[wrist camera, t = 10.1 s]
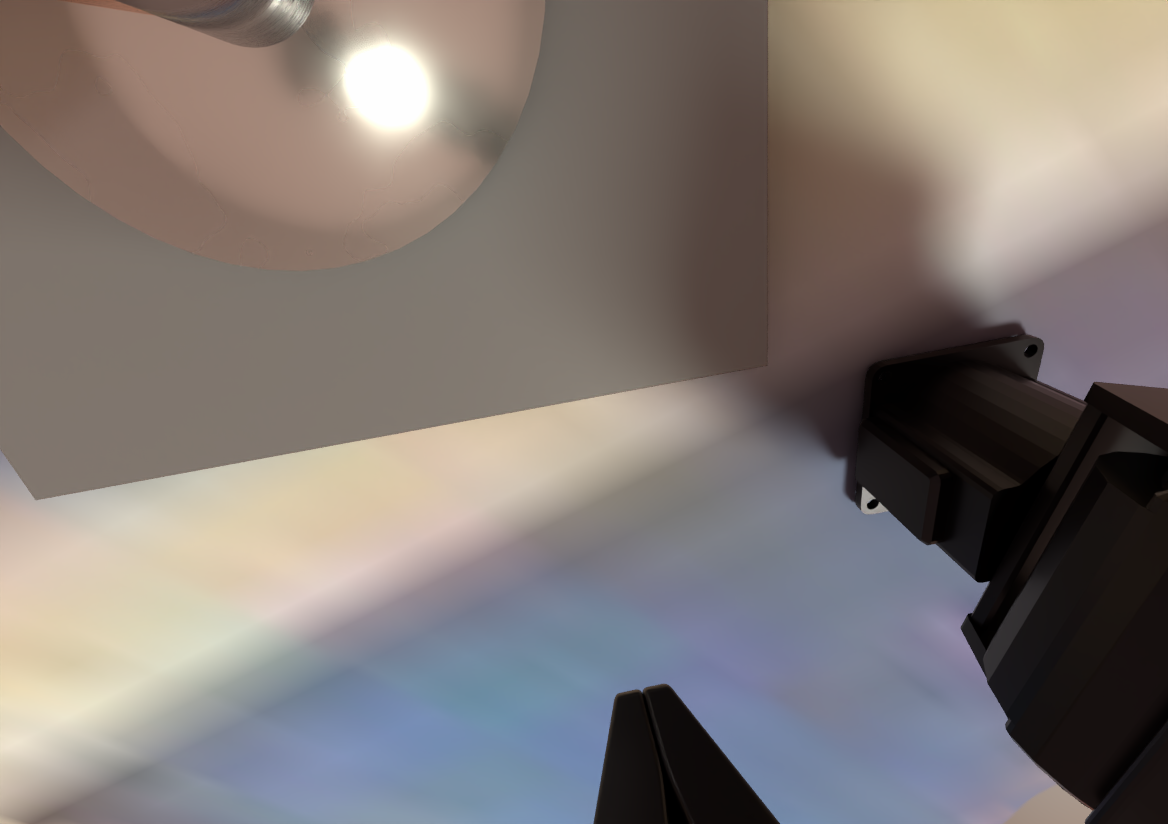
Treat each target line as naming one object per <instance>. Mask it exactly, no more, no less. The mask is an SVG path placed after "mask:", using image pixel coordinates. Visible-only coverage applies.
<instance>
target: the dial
mask: <svg viewBox="0 0 1168 824" xmlns="http://www.w3.org/2000/svg"><path fill="white" fill-rule="evenodd" d="M544 14H545V0H0V125H1V126H2V128H3V129H4V130H5V131H6V132H7V133H8V134H9V135H10V136H11V137H12V138H14V139H15V140H16V141H17V142H18V143H19V144H20V145H21V146H22V147H23V148H24V149H25V150H26V151H27V152H28V153H29V154H30V155H32V156H33V157H34V158H35V159H36V160H37V161H38V162H39V163H40V164H41V165H42V166H43V167H45V168H46V169H47V170H49V171H50V172H51V173H52V174H54V175H55V176H56V177H57V178H59V179H60V180H61V181H63V182H64V183H65V184H66V185H68V186H69V187H70V188H71V189H73V190H74V191H75V192H77V193H78V194H79V195H81V196H82V197H84V198H85V199H87V200H88V201H90V202H91V203H93V204H95V205H96V206H98V207H99V208H101V209H102V210H104V211H105V212H107V213H109V214H110V215H112V216H113V217H115V218H116V219H118V220H120V221H122V222H124V223H126V224H128V225H130V226H131V227H133V228H135V229H137V230H139V231H141V232H143V233H145V234H147V235H149V236H151V237H153V238H155V239H157V240H160V241H162V242H165V243H167V244H170V245H172V246H175V247H177V248H180V249H182V250H185V251H188V252H190V253H193V254H196V255H199V256H203V257H207V258H210V259H214V260H218V261H221V262H225V263H229V264H233V265H240V266H246V267H253V268H259V269H265V270H288V271H308V270H319V269H329V268H338V267H342V266H347V265H351V264H355V263H360V262H364V261H368V260H371V259H374V258H376V257H379V256H381V255H384V254H387V253H389V252H392V251H395V250H397V249H400V248H401V247H403V246H405V245H407V244H409V243H410V242H412V241H414V240H416V239H417V238H419V237H421V236H423V235H425V234H426V233H428V232H429V231H431V230H432V229H433V228H435V227H436V226H437V225H439V224H440V223H441V222H442V221H444V220H445V219H446V218H448V217H449V216H450V215H452V214H453V213H454V212H455V211H456V210H457V209H458V208H459V207H460V206H461V205H462V204H463V203H464V202H465V201H466V200H467V199H468V198H469V197H470V196H471V195H472V194H473V193H474V192H475V191H476V190H477V188H478V187H479V186H480V184H481V183H482V182H483V180H484V179H485V178H486V176H487V175H488V173H489V172H490V171H491V169H492V168H493V167H494V165H495V164H496V163H497V161H498V160H499V158H500V156H501V154H502V152H503V150H504V149H505V147H506V145H507V143H508V141H509V139H510V138H511V136H512V134H513V132H514V130H515V128H516V126H517V123H518V120H519V118H520V115H521V113H522V110H523V108H524V105H525V103H526V100H527V97H528V95H529V92H530V88H531V84H532V80H533V76H534V72H535V68H536V64H537V60H538V56H539V51H540V44H541V36H542V29H543V22H544Z"/></svg>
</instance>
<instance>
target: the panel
mask: <svg viewBox="0 0 1168 824" xmlns="http://www.w3.org/2000/svg"><path fill="white" fill-rule="evenodd" d="M767 303H768V0H545V14H544V22H543V29H542V36H541V44H540V51H539V56H538V60H537V64H536V68H535V72H534V76H533V80H532V84H531V88H530V92H529V95H528V97H527V100H526V103H525V105H524V108H523V110H522V113H521V115H520V118H519V120H518V123H517V126H516V128H515V130H514V132H513V134H512V136H511V138H510V139H509V141H508V143H507V145H506V147H505V149H504V150H503V152H502V154H501V156H500V158H499V160H498V161H497V163H496V164H495V165H494V167H493V168H492V169H491V171H490V172H489V173H488V175H487V176H486V178H485V179H484V180H483V182H482V183H481V184H480V186H479V187H478V188H477V190H476V191H475V192H474V193H473V194H472V195H471V196H470V197H469V198H468V199H467V200H466V201H465V202H464V203H463V204H462V205H461V206H460V207H459V208H458V209H457V210H456V211H455V212H454V213H453V214H452V215H450V216H449V217H448V218H446V219H445V220H444V221H442V222H441V223H440V224H439V225H437V226H436V227H435V228H433V229H432V230H431V231H429V232H428V233H426V234H425V235H423V236H421V237H419V238H417V239H416V240H414V241H412V242H410V243H409V244H407V245H405V246H403V247H401V248H400V249H397V250H395V251H392V252H389V253H387V254H384V255H381V256H379V257H376V258H374V259H371V260H368V261H364V262H360V263H355V264H351V265H347V266H342V267H338V268H329V269H319V270H308V271H288V270H265V269H259V268H253V267H246V266H240V265H233V264H229V263H225V262H221V261H218V260H214V259H210V258H207V257H203V256H199V255H196V254H193V253H190V252H188V251H185V250H182V249H180V248H177V247H175V246H172V245H170V244H167V243H165V242H162V241H160V240H157V239H155V238H153V237H151V236H149V235H147V234H145V233H143V232H141V231H139V230H137V229H135V228H133V227H131V226H130V225H128V224H126V223H124V222H122V221H120V220H118V219H116V218H115V217H113V216H112V215H110V214H109V213H107V212H105V211H104V210H102V209H101V208H99V207H98V206H96V205H95V204H93V203H91V202H90V201H88V200H87V199H85V198H84V197H82V196H81V195H79V194H78V193H77V192H75V191H74V190H73V189H71V188H70V187H69V186H68V185H66V184H65V183H64V182H63V181H61V180H60V179H59V178H57V177H56V176H55V175H54V174H52V173H51V172H50V171H49V170H47V169H46V168H45V167H43V166H42V165H41V164H40V163H39V162H38V161H37V160H36V159H35V158H34V157H33V156H32V155H30V154H29V153H28V152H27V151H26V150H25V149H24V148H23V147H22V146H21V145H20V144H19V143H18V142H17V141H16V140H15V139H14V138H12V137H11V136H10V135H9V134H8V133H7V132H6V131H5V130H4V129H3V128H2V126H1V125H0V449H1V451H2V452H3V454H4V455H5V457H6V458H7V459H8V461H9V462H10V464H11V465H12V467H13V468H14V470H15V471H16V472H17V474H18V475H19V477H20V478H21V480H22V481H23V483H24V484H25V485H26V487H27V488H28V490H29V491H30V493H31V494H32V496H33V497H34V498H35V500H40V499H45V498H50V497H56V496H61V495H67V494H72V493H78V492H83V491H88V490H94V489H99V488H105V487H110V486H116V485H121V484H126V483H132V482H137V481H143V480H148V479H153V478H159V477H164V476H170V475H175V474H181V473H186V472H191V471H197V470H202V469H208V468H213V467H219V466H224V465H229V464H235V463H240V462H246V461H251V460H257V459H262V458H267V457H273V456H278V455H284V454H289V453H295V452H300V451H305V450H311V449H316V448H322V447H327V446H333V445H338V444H343V443H349V442H354V441H360V440H365V439H371V438H376V437H381V436H387V435H392V434H398V433H403V432H409V431H414V430H419V429H425V428H430V427H436V426H441V425H447V424H452V423H457V422H463V421H468V420H474V419H479V418H485V417H490V416H495V415H501V414H506V413H512V412H517V411H523V410H528V409H533V408H539V407H544V406H550V405H555V404H561V403H566V402H571V401H577V400H582V399H588V398H593V397H599V396H604V395H609V394H615V393H620V392H626V391H631V390H636V389H642V388H647V387H653V386H658V385H664V384H669V383H674V382H680V381H685V380H691V379H696V378H702V377H707V376H712V375H718V374H723V373H729V372H734V371H740V370H745V369H750V368H756V367H761V366H767Z"/></svg>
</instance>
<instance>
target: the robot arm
mask: <svg viewBox="0 0 1168 824" xmlns="http://www.w3.org/2000/svg"><path fill="white" fill-rule="evenodd" d="M1027 347H1028V348H1027ZM1026 348H1027V350H1026V351H1025V349H1026ZM1043 350H1044V343H1043V341H1042V340H1041V339H1039V338H1037V337H1034V336H1032V335H1019V336H1014V337H1009V338H1003V339H998V340H993V341H987V342H982V343H976V344H971V345H966V346H960V347H955V348H949V349H944V350H939V351H933V352H928V353H923V354H917V355H912V356H906V357H901V358H896V359H890V360H885V361H880V362H877V363H875V364H873V365H872V366H871V367H870V368H869V370H868V371H867V374H866V379H865V391H864V403H863V415H862V421H861V423H860V426H859V436H858V448H857V460H856V472H855V479H856V480H857V486H856V498H855V503H856V505H857V507H858V508H859V509H860V510H861V511H862V512H863V513H865V514H876V513H881V512H886V511H889V512H890V513H891V514H892V515H893V516H894V517H896V518H897V519H898V520H899V521H900V522H901V523H902V524H903V525H904V526H905V527H906V528H907V529H908V530H909V531H910V532H911V533H912V534H913V535H914V536H915V537H917V538H918V539H919V540H920V541H921V542H923V543H924V544H926V545H931V544H936V545H937V546H939V547H940V548H941V549H942V550H943V551H944V552H945V553H946V554H947V555H948V556H949V557H950V558H952V559H953V560H954V561H955V562H956V563H957V564H958V565H959V566H960V567H961V568H962V569H963V570H965V571H966V572H967V573H968V574H969V575H970V576H971V577H972V578H973V579H974V580H975V581H977V582H979V583H983V582H988V581H990V582H989V584H988V586H987V588H986V589H985V591H984V593H983V595H982V597H981V598H980V600H979V602H978V604H977V606H976V608H975V609H974V611H973V613H970V614H968V615H967V617H966V619H965V620H964V622H963V624H962V626H961V630H962V632H963V634H964V636H965V638H966V640H967V642H968V644H969V645H970V647H971V649H972V651H973V653H974V655H975V657H976V659H977V661H978V663H979V664H980V666H981V668H982V670H983V672H984V674H985V676H986V678H987V683H988V685H989V686H990V688H991V690H992V691H993V693H994V695H995V697H996V698H997V700H998V702H999V703H1000V705H1001V707H1002V708H1003V710H1004V712H1005V714H1006V716H1007V718H1008V721H1007V722H1006V724H1005V726H1006V730H1007V732H1008V733H1009V735H1010V736H1011V738H1012V739H1013V741H1014V742H1015V743H1016V744H1017V745H1018V746H1019V747H1020V748H1021V749H1022V750H1023V751H1024V753H1025V754H1026V755H1027V756H1028V757H1029V758H1030V759H1031V760H1032V761H1033V762H1034V763H1035V764H1036V765H1037V766H1038V767H1039V768H1040V769H1041V770H1042V771H1043V772H1044V773H1046V774H1047V775H1048V776H1049V777H1050V778H1051V779H1052V780H1053V781H1055V782H1056V783H1057V784H1058V785H1059V786H1060V787H1061V788H1062V789H1063V790H1065V791H1066V792H1068V793H1069V794H1070V795H1072V796H1073V797H1074V798H1075V799H1077V800H1078V801H1079V802H1081V803H1082V804H1083V805H1085V806H1086V807H1088V808H1090V809H1091V810H1093V811H1092V812H1091V814H1090V815H1089V816H1088V817H1087V819H1086V820H1085V824H1168V389H1166V388H1155V387H1145V386H1134V385H1124V384H1113V383H1103V382H1094V383H1093V385H1092V386H1091V388H1090V390H1089V392H1088V394H1087V396H1086V398H1085V399H1084V401H1083V400H1081V399H1078V398H1076V397H1074V396H1071V395H1069V394H1067V393H1065V392H1062V391H1060V390H1058V389H1056V388H1053V387H1051V386H1049V385H1046V384H1044V383H1042V382H1040V381H1037V376H1038V372H1039V368H1040V363H1041V359H1042V354H1043ZM1024 351H1025V352H1024ZM884 372H886V373H885V376H884V377H883V378H882V379H881V380H879V377H880V375H881V374H882V373H884ZM870 500H872V501H871V502H870V503H868V502H869V501H870ZM594 824H780V823H779V822H778V820H777V819H776V818H775V817H774V815H773V814H772V813H771V812H770V810H769V809H768V808H767V807H766V805H765V804H764V803H763V802H762V800H761V799H760V798H759V797H758V795H757V794H756V793H755V792H754V790H753V789H752V788H751V787H750V785H749V784H748V783H747V782H746V780H745V779H744V778H743V777H742V775H741V774H740V773H739V772H738V770H737V769H736V768H735V767H734V765H733V764H732V763H731V762H730V760H729V759H728V758H727V757H726V755H725V754H724V753H723V752H722V750H721V749H720V748H719V747H718V745H717V744H716V743H715V742H714V740H713V739H712V738H711V737H710V735H709V734H708V733H707V732H706V730H705V729H704V728H703V727H702V725H701V724H700V723H699V722H698V720H697V719H696V718H695V716H694V715H693V714H692V713H691V711H690V710H689V709H688V708H687V706H686V705H685V704H684V703H683V701H682V700H681V699H680V698H679V696H678V695H677V694H676V693H675V691H674V690H673V689H672V688H671V687H670V686H669V685H667V684H660V685H655V686H650V687H646V688H644V690H643V694H642V692H641V691H640V690H632V691H627V692H622V693H618V694H617V695H616V697H615V700H614V705H613V711H612V717H611V723H610V729H609V735H608V741H607V747H606V753H605V759H604V764H603V770H602V776H601V782H600V788H599V794H598V800H597V806H596V812H595V818H594Z"/></svg>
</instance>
